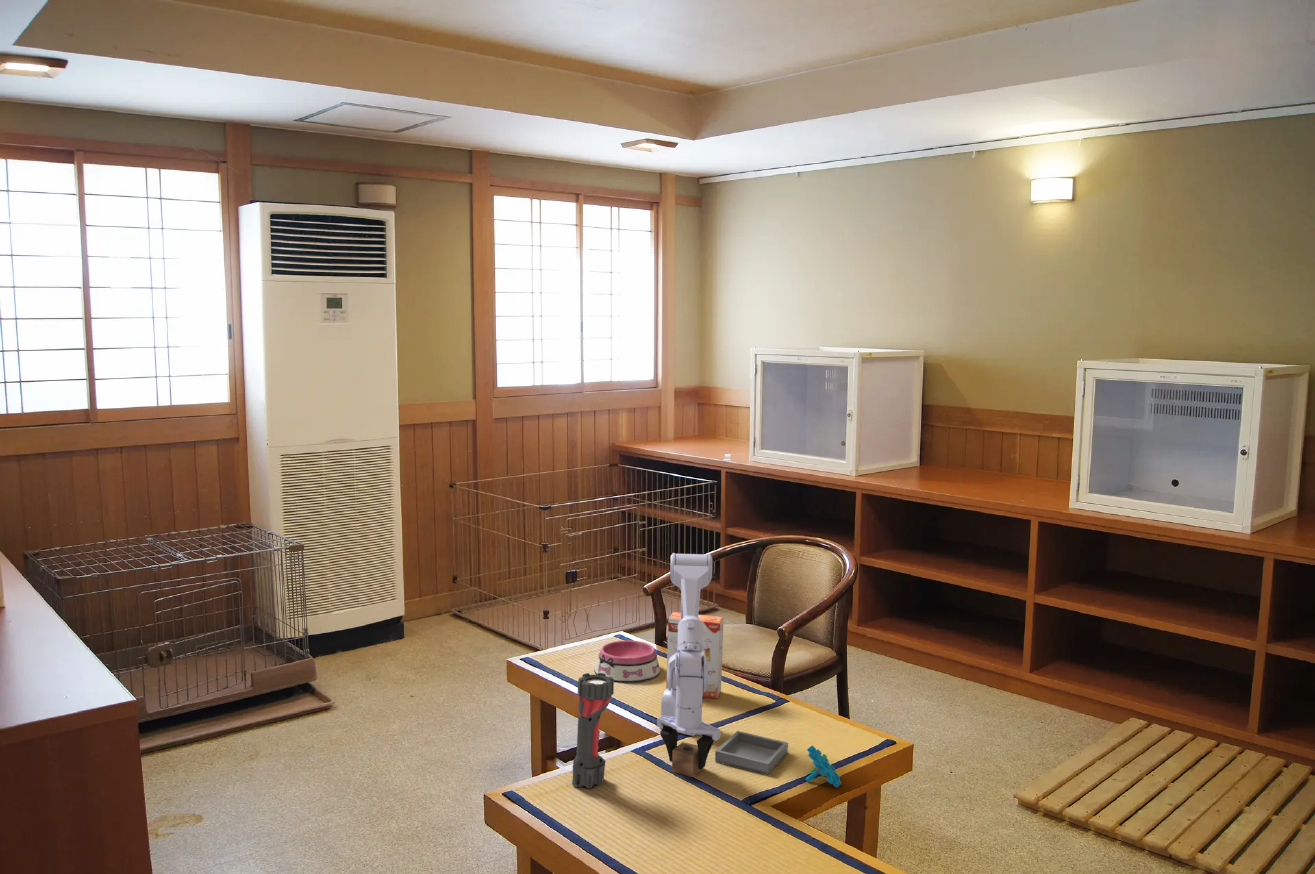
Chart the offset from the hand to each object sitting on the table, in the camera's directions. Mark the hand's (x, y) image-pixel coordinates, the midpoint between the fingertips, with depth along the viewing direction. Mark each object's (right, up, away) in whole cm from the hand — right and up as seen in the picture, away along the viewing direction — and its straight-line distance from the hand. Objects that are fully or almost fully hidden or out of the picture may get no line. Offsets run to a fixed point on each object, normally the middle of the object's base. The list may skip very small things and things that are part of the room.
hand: (687, 763), depth 212 cm
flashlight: (-20, -2, -6) cm, 21 cm away
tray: (+15, -1, +7) cm, 16 cm away
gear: (+29, -3, -4) cm, 30 cm away
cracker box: (+3, +3, +45) cm, 45 cm away
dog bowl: (-15, +5, +60) cm, 62 cm away
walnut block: (0, -2, 0) cm, 2 cm away
